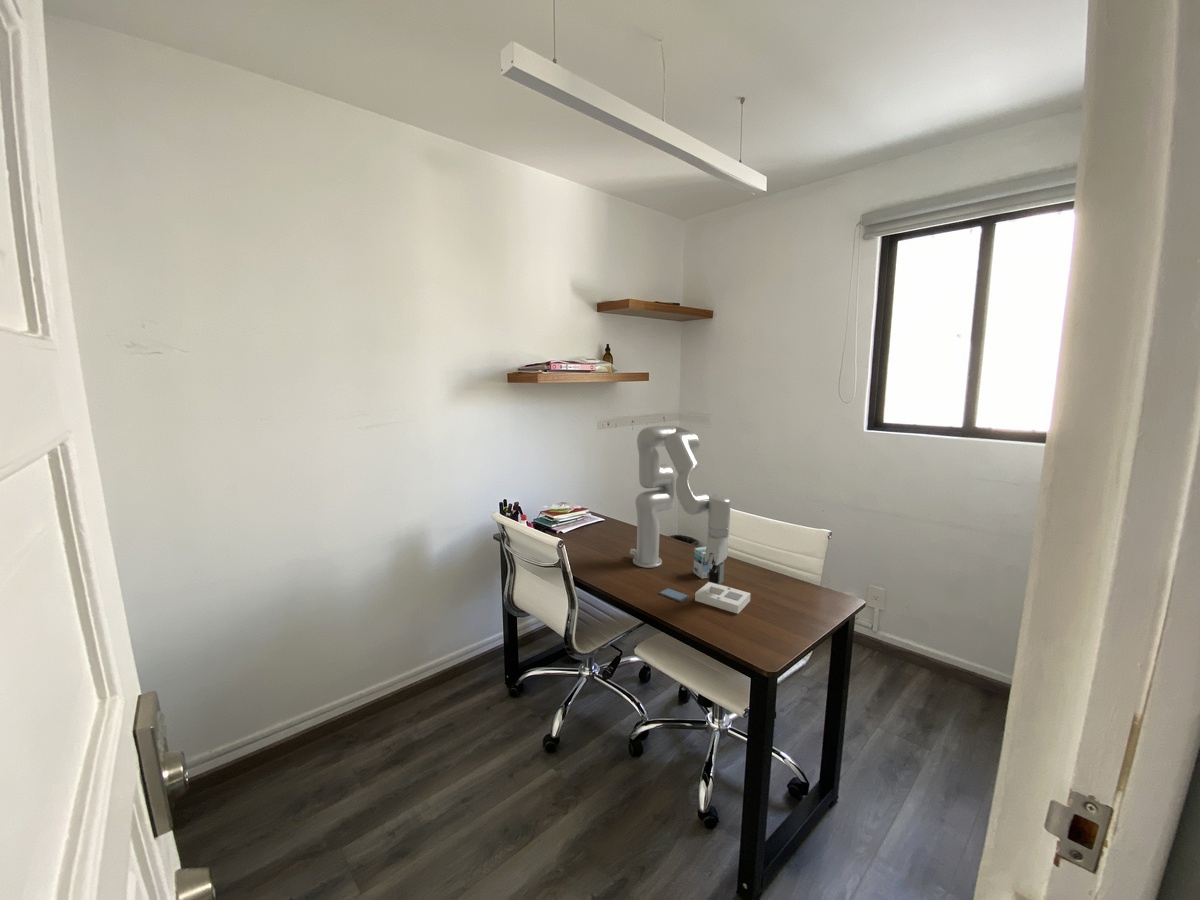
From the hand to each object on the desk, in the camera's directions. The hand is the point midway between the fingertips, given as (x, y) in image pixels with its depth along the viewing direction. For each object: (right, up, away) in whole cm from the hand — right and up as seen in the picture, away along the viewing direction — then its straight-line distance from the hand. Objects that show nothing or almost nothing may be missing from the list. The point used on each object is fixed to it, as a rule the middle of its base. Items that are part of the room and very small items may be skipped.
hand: (716, 579), depth 174 cm
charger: (0, -1, 0) cm, 1 cm away
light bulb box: (+2, -4, +23) cm, 23 cm away
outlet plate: (+2, -8, -1) cm, 8 cm away
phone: (-15, -7, +3) cm, 17 cm away
